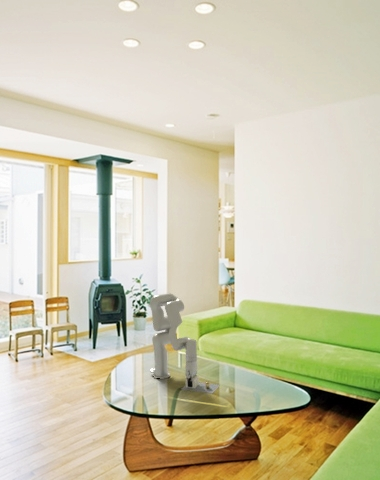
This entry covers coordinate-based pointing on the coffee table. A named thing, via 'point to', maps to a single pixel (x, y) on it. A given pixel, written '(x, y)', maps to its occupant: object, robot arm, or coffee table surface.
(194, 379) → the white knobbed cube
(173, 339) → the robot arm
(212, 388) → the board
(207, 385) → the post
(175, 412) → the coffee table surface
